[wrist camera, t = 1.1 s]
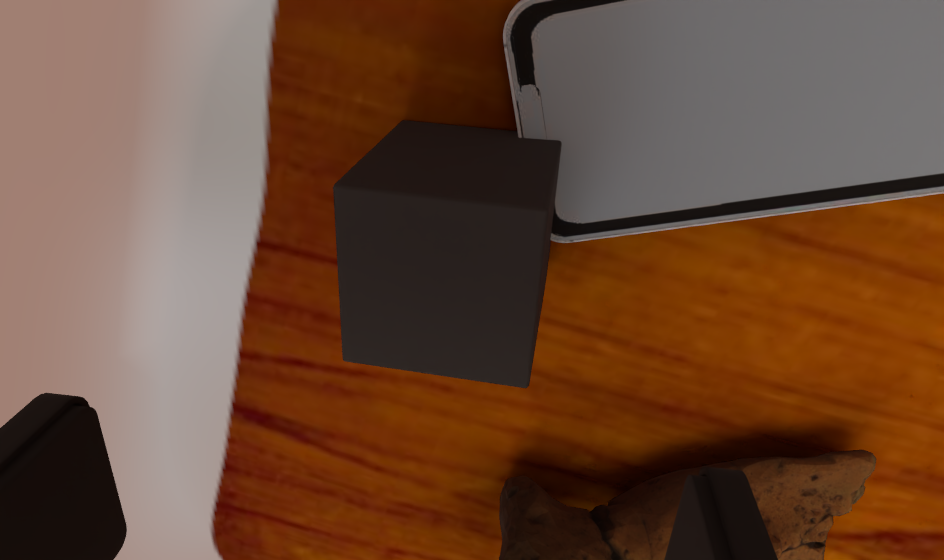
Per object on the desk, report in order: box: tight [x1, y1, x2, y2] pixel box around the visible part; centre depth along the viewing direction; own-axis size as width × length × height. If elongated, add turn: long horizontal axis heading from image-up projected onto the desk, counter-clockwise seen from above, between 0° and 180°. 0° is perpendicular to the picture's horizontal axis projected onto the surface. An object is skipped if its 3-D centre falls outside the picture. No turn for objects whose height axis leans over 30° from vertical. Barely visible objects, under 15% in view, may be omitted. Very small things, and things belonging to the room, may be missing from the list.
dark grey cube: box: [333, 120, 562, 388], centre depth 18 cm, size 5×5×6 cm
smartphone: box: [503, 0, 944, 243], centre depth 18 cm, size 7×1×15 cm
